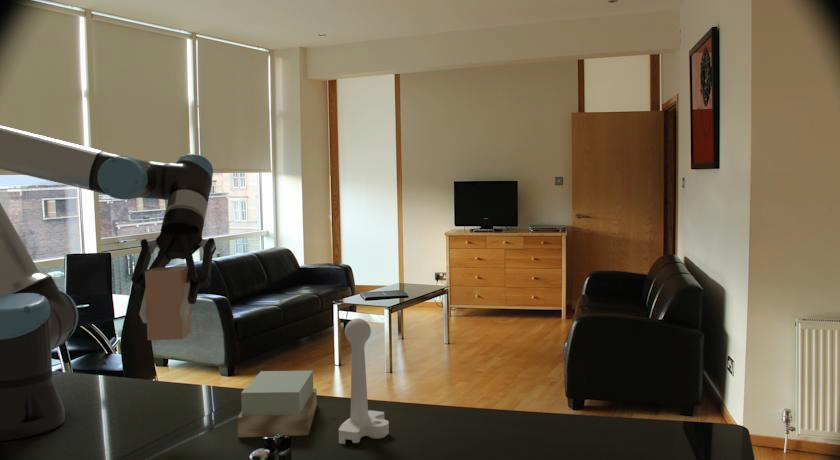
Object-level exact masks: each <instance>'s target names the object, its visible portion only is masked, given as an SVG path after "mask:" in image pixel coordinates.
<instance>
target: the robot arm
mask: <svg viewBox="0 0 840 460" xmlns="http://www.w3.org/2000/svg"><path fill="white" fill-rule="evenodd" d="M0 170H3V171H7V172H12V173H16V174H20V175H24V176H29V177H32V178H37V179H40V180H41V179H42V180H46V181H49V182H53V183H57V184H62V185H66V186H71V187H75V188H79V189H83V190H86V191H87V190H88V191H91V192H95V193H99V194H103V195H107V196H108V197H110V198H113V199H117V200H123V201H126V200H132V199H139V198H140V199H141V198H142V199H152V200H163V201H167V204H166V207H165V210H164V216H163V219H162V224H161V228H160V234H159V235H158V236H157V237H156V239H154V240H150V241H148V239H146V238H143V239H141V240H140V249H141V250H140V252H139V254H138V258H137V261H136V264H135V265H134V266H135V267H134V269H133V272H132V276H131V277H130V280H131V283H132V284H133V287H134V289H135V290H139V292H138V295H137V300H138V302H139V305H140V310H139V317H140V319H141V321H142V323H143V324H147V309H146V286H145V271H147V270H150V269H153V268H157V267H167V265H169V264H170V263H171V262H172V260H177V259H179V260H185V263H186V267H189V268H188V273H189V279H190V283H185V287H184V293H183V298H182V303H181V308H180V316H181V319H182V321H183V322H187V320H188V314H189V309H190V306H191V305H192V304H193V305H195V304H196V303H197V301H198V300H197V299H198V296H199V290H200V289H201V288H205V289H207V288H209V287H210V286H211V279H212V269H213V268H212V265H213V256H214V255H215V253H216V250H217V246H216V242H215V239H214V238H213V237H210V238H208V239H204V238H203V231H204V227H205V226H204V225H205V219H206V214H207V209H208V205H209V198H210V194H211V191H212V189H211V188H212V185H213V177H214V175H213V174H214V169H213V165H212V163H211V161H210V160H209V159H208V158H206V157H204V156H203V155H201V154H197V153H188V154H186V155H185V154H183V155H182V156H180V157H179V158H178V160H177V161H176V163H175V162H159V161H153V160H152V161H151V160H145V159H144V160H143V159H136V158H133V157H129V156H125V155H120V154H115V153H111V152H109V151H108V152H107V151H103V150H99V149H95V148H92V147H87V146H83V145H79V144H77V143H71V142H68V141H63V140H60V139H55V138H52V137H48V136H45V135H42V134H41V135H40V134H36V133H32V132H28V131H23V130H20V129H16V128H13V127H9V126H6V125H5V126H4V125H0ZM156 248H158V249H159V250H158V252H157V255H156V257H155V259H154V260H153V262H152V263H151V265H150V266H149V264H150V262H151V258H152V254H153V255H154V254H155V253H154V252H155V249H156ZM200 248H202V263H201V272H200V277H198V276H197V275H198V274H197V270H196V266H195V261H194V256H193V254H195V253H196V252H197V251H198V250H199V249H200ZM78 321H79V310H78V307H77V305H76V302H75V301H74V299H73V298H72V297H71V296H70V295H69V294H67V293H66V292H63V291H61V290H60V289H59V287H58V286H57V283H56V282H55V280H54V279H53V277H52V275H51V274H49V273H45V272H41V271H40V270H39V269H38V267H37V265H36V264H35V262H34V261H33V258H32V256H31V255H30V253H29V251H28V249H27V248H26V246H25V244H24V242H23V241H22V238H21V236H20V235H19V234H18V232H17V230H16V228H15V227H14V225H13V222H12V221H11V219H10V217H9V216H8V214H7V212H6V210H5V208H4V207H3V205H2V203H1V202H0V442H1V441H2V442H4V441H10V440H11V441H12V440H18V439H24V438H28V437H33V436H38V435H40V434H41V435H42V434H43V433H48V432H49V431H51V430H54V429H57V428H58V427H60V426H62V425H63V424H64V422H65V421H66V413H65V411H66V410H65V406H64V404H63V400H62V398H61V396H60V394H59V392H58V389H57V388H56V387H57V386H56V385H55V382H54V379H53V363H52V359H53V358H52V351H53V350H55V349H57V348H59V347H61V346H63V345H64V344H65V343H66V342H67V341H68V340H69V339H70V338H71V336H72V335H73V333H74V332H75V330H76V328H77V325H78Z"/></svg>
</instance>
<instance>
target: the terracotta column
mask: <svg viewBox="0 0 840 460" xmlns="http://www.w3.org/2000/svg"><path fill="white" fill-rule="evenodd" d="M188 268H189V267H187V266H166V267H157V268H153V269H150V270H148V269H147V271H145V286H146V309H147V323H146V335H147V341H161V340H162V341H163V340H164V341H165V340H184V339H185V338H186V337H187V336H188V335H190V334H191V333H192V313H191V312H192V311H191V305H190V309H189V314H188V320H187V322H183V321H182V319H181V316H180V308H181V303H182V298H183V293H184V287H185V283H191V282H190V279H189V273H188Z"/></svg>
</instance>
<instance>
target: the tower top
mask: <svg viewBox="0 0 840 460" xmlns="http://www.w3.org/2000/svg"><path fill="white" fill-rule="evenodd" d="M313 389H314V371H313V370H262V371H261V370H260V371H259V373H258V374H256V376H255V377H254V378H253V379H252V380H251V381H250V382H249V384H248V385H247V386H246V387H244V389H243V390H242V391H241V392H240V398H241V399H240V401H241V403H240V404H241V411H242V415H300V413H301V412H302V410H303V408H304V407H305V405H306V403H307V401H308V400H309V398H310V396H311V394H312V393H313Z"/></svg>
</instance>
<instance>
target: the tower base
mask: <svg viewBox="0 0 840 460" xmlns="http://www.w3.org/2000/svg"><path fill="white" fill-rule="evenodd" d="M317 403H318V402H317V388H313V393H312V394H311V396H310V398H309V400H308V401H307V403H306V405H305V407H304V408H303V410H302V412H301V413H300V415H242V410H241V411H240V413H239V414H238V416H237V438H256V437H257V438H258V437H259V438H260V437H273V436H272V435H276V434H285V435H289V436H290V437H291V436H292V437H293V436H309V435H310V431H311V428H312V424H313V422H314V416H315V414H316V410H317V406H318V404H317ZM289 436H288V437H289Z"/></svg>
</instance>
